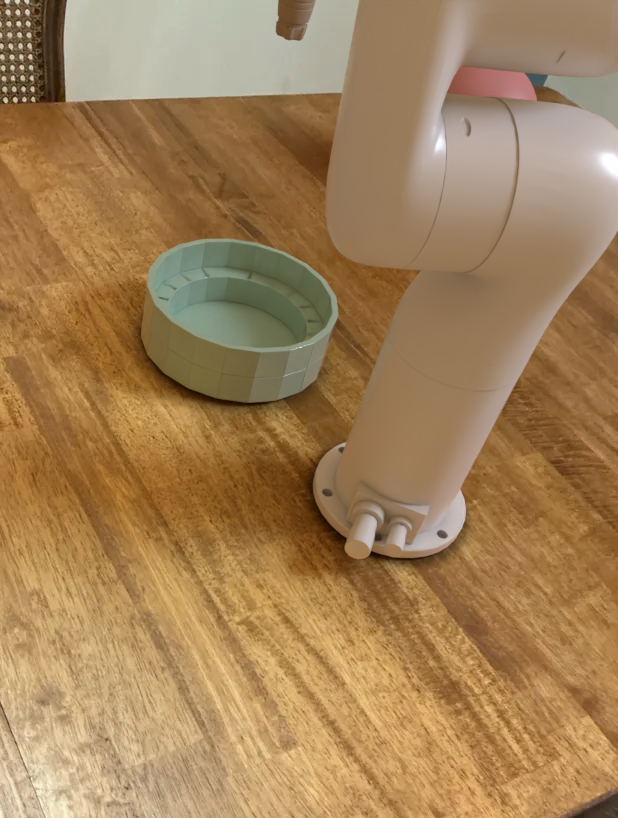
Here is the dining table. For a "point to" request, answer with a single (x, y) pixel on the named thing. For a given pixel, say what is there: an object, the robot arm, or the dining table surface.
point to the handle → (293, 18)
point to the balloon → (492, 83)
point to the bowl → (237, 319)
